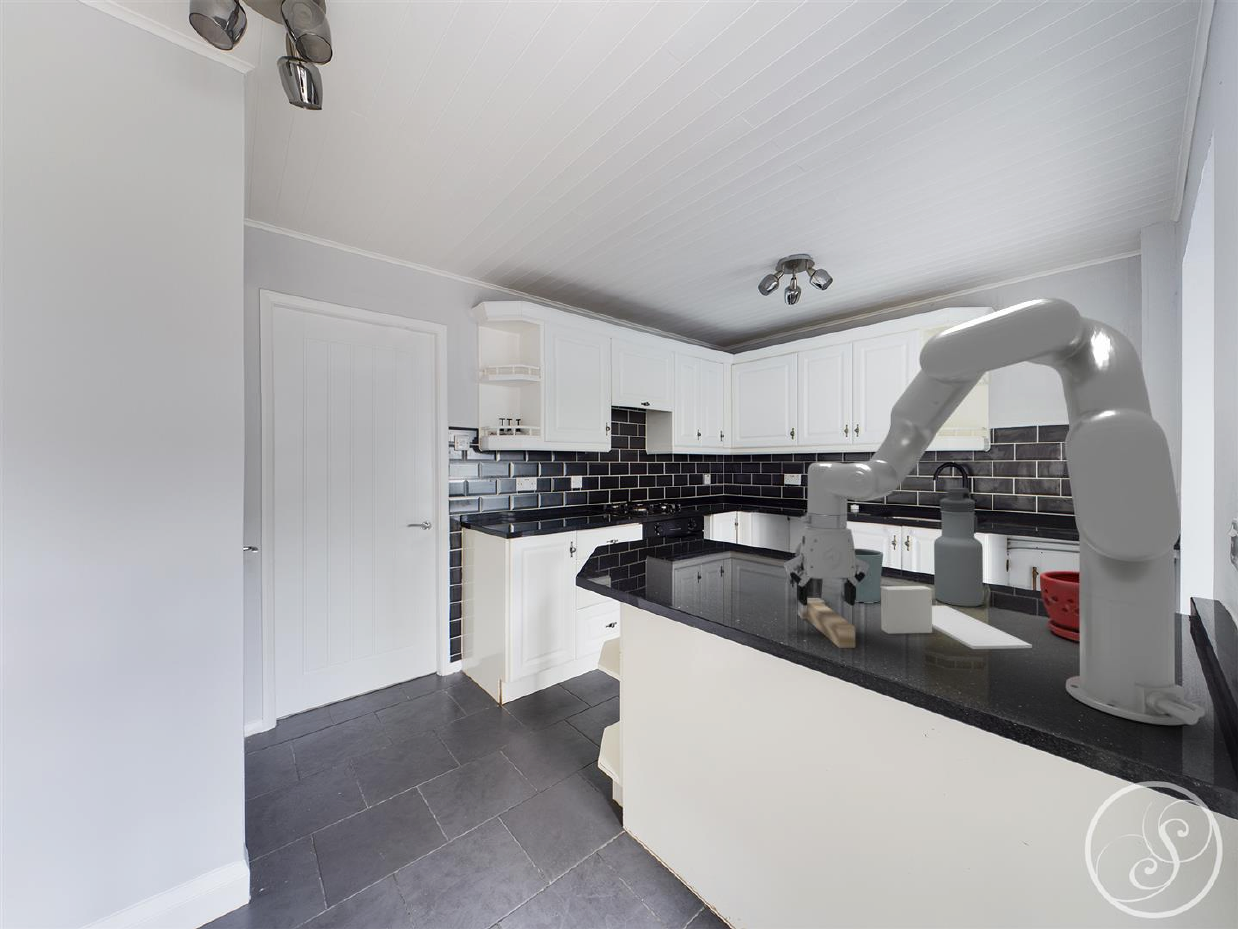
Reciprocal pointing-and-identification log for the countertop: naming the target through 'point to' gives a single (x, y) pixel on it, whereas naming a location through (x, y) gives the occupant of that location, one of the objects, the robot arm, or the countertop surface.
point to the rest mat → (972, 630)
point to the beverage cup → (811, 581)
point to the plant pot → (1062, 602)
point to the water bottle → (958, 552)
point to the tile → (906, 609)
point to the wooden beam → (828, 622)
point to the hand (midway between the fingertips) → (826, 603)
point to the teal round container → (868, 576)
